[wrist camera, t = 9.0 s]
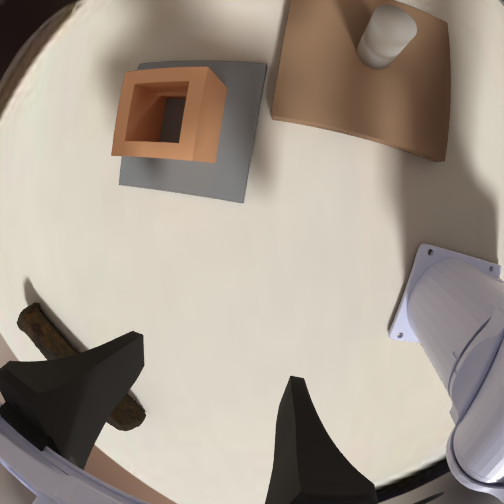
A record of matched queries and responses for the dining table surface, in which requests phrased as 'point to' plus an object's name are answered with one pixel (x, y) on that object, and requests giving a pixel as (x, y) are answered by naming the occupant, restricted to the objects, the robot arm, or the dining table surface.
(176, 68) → the hollow square tube
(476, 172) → the dining table surface
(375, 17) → the post block
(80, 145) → the dining table surface
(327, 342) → the dining table surface
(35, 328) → the hand tool
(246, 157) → the pad
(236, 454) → the dining table surface
